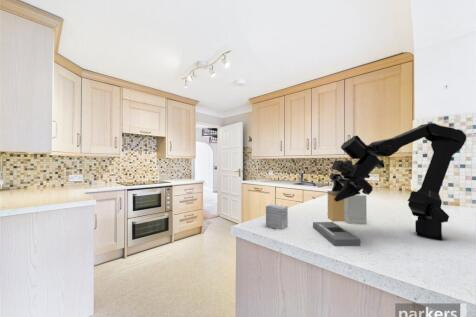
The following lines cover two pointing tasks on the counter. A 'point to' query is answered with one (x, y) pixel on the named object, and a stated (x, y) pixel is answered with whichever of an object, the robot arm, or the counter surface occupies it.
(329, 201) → the plug
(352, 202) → the supplement box
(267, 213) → the medicine box
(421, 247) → the counter surface
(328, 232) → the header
